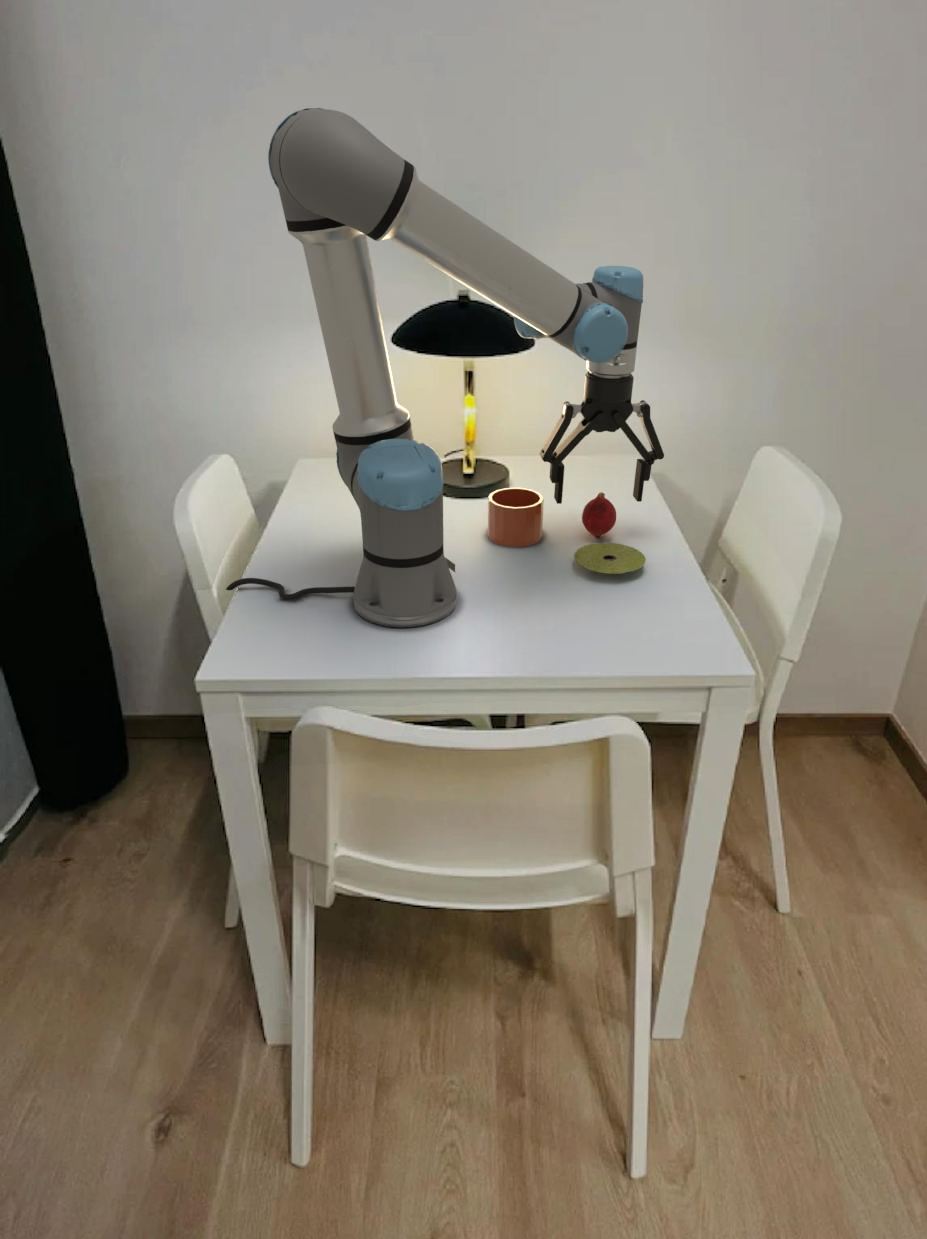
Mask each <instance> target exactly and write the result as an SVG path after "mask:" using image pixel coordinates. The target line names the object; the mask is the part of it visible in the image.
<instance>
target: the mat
mask: <svg viewBox="0 0 927 1239" xmlns="http://www.w3.org/2000/svg"><path fill="white" fill-rule="evenodd" d="M573 557H574V560H575V562H576V563H577V564H579V565H580V566H582V567H583V568H585V569H587V570H589V571H592V572H595V573H596V572H597V573H601V574H602V573H603V574H610V575H611V574H612V575H616V574H617V575H620V574H626V573H631V572H635V571H636V570H639V569H641V568H642V567H643V566H644V565H645V563H646V556H645V554H644V553H642V551H640V550H639V549H636V548H635V547H632V546H629V545H626V544H623V543H618V542H596V543H590V544H586V545H584V546H581V547H579V548H577V549H576V551H575V552H574V554H573Z"/></svg>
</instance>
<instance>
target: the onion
mask: <svg viewBox="0 0 927 1239" xmlns="http://www.w3.org/2000/svg"><path fill="white" fill-rule="evenodd" d="M605 495H606V494H605V493H604V492H603V491H601V492H598V495H597V496H596V497H595V498H593V499H591V500H589V501H588V502H587V503H586V504H585V505H584V507H583V510H582V514H581V522H582V525H583V527H584V528H585V530H586V531H587V532H588V533H589V534H591V535H593V536H594V537H596V538H600V537H602V536H603V535H605V534H607V533H609V531H611V530H612V529H613V528H614V527H615V525H616V522H617V510H616V508H615V506H614V505H613V503H612V502H611V501H610V500H609V499H608V498H606V497H605Z"/></svg>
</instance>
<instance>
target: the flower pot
mask: <svg viewBox="0 0 927 1239" xmlns="http://www.w3.org/2000/svg"><path fill="white" fill-rule="evenodd" d="M544 500H545V499H544V496H543V494H541V493H540V492H538V491H536V490H534V489H530V488H525V487H505V488H501V489H500V488H499V489H496V490H494V491H492V492H491V493H489V495H488V496H487V537H488V539H489V540H490V541H492V543H494V544H497V545H499V546H503V547H510V548H523V547H529V546H533V545H535V544H537V543H538V542H540V541H541V539H542V537H543V536H542V535H543V527H544V526H543V525H544V524H543V523H544V522H543V521H544V505H545V504H544V502H545V501H544Z"/></svg>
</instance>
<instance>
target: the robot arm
mask: <svg viewBox="0 0 927 1239" xmlns="http://www.w3.org/2000/svg"><path fill="white" fill-rule="evenodd" d="M267 162H268V169H269V173H270V176H271V179H272V181H273V183H274V185H275V186H276V188H277V189H278V193H279V199H280V202H281V206H282V211H283V215H284V220H285V224H286V228H287V232H288V234H289V235H291V236H292V237H293V238H295V239H296V240H297V241H299V242H300V243H301V245H302V247H303V253H304V257H305V262H306V266H307V270H308V275H309V280H310V283H311V288H312V289H311V290H312V293H313V297H314V302H315V308H316V311H317V316H318V320H319V321H318V322H319V325H320V329H321V334H322V338H323V344H324V347H325V352H326V356H327V361H328V366H329V370H330V375H331V380H332V384H333V389H334V394H335V398H336V402H337V407H338V412H339V414H338V416H337V417H336V419H334V420H335V421H333V423H332V427H331V428H332V432H333V435H334V440H335V445H336V453H335V455H336V468H337V470H338V473H339V476H340V478H341V480H342V482H343V483H344V485H346V487H347V489H348V491H349V493H350V495H351V496H352V498H353V500H354V501H355V503H356V505H357V507H358V509H359V513H360V521H361V523H360V524H361V537H362V553H363V554H362V555H363V556H362V562H361V564H360V569H359V572H358V574H357V579H356V582H355V585H353V586H320V587H319V586H317V587H316V586H315V587H308V588H303V589H300V590H298V591H296V592H292V593H286V590H285V587H284V586H283V585H282V584H281V583H278V582H275V581H272V580H268V579H263V578H260V577H259V578H257V577H245V578H240V579H236V580H235V581H233V582H231V583H230V584H229V585H228V586H227V587H226V588H225V590H226V591H233V590H234V589H236V588H238V587H240V586H243V585H247V584H248V585H260V586H265V587H269V588H272V589H275V590H278V595H279V597H280V598H281V600H286V601H294V600H296V599H299V598H301V597H304V596H306V595H311V594H312V595H313V594H345V593H346V594H347V593H349V594H351V593H353V606H354V609H355V612H356V613H357V614H358V615H359V616H360V617H361V618H363V619H364V620H366V621H368V622H371V623H373V624H376V625H380V626H385V627H391V628H392V627H393V628H413V627H421V626H426V625H429V624H434V623H436V622H438V621H440V620H443V619H444V618H446V617H447V616H449V615H450V614H451V613H452V612H453V611H454V610H455V608H456V606H457V602H458V598H457V597H458V596H457V595H458V594H457V593H458V592H457V587H456V584H455V581H454V578H453V575H452V573H451V571H452V572H454V573H456V564H455V563H454V562H452V561H451V560H449V559H448V558H447V557H445V552H444V551H445V550H444V485H445V478H444V476H445V475H444V471H443V464H442V460H441V458H440V455H439V454H438V452H437V451H436V450H435V449H434V448H432V447H431V446H430V445H427V444H426V443H424V442H421V443H419V442H418V441H417V440H415V438H414V437H415V436H414V433H413V427H412V421H411V416H410V412H409V410H408V409H406V408H405V407H403V405H400V404H399V403H398V401H397V395H396V390H395V384H394V379H393V374H392V369H391V364H390V358H389V352H388V348H387V347H388V346H387V342H386V336H385V331H384V325H383V320H382V314H381V309H380V303H379V297H378V292H377V287H376V281H375V276H374V271H373V265H372V259H371V253H370V249H369V244H368V238H370V239H372V240H373V241H375V242H381V241H383V240H390V241H392V243H395V244H396V245H398V246H400V247H401V248H402V249H405V250H406V251H407V252H410V253H411V254H413V255H414V256H416V257H417V258H419V259H421V260H422V261H424V262H425V263H427V264H429V265H431V266H432V267H434V268H435V269H437V270H439V271H440V272H442V273H444V274H445V275H447V276H449V278H452V279H453V280H455V281H457V282H458V283H460V284H462V285H463V286H465V287H467V288H468V289H469V290H471V291H473V292H475V293H476V294H478V295H480V296H481V297H483V298H484V299H486V300H487V301H489V302H491V303H492V304H494V305H496V306H497V307H499V308H501V309H502V310H504V311H506V312H507V313H509V314H511V315H512V316H513V321H514V327H515V330H516V332H517V334H518V335H519V336H520V337H521V338H523V339H535V340H540V339H550V340H551V341H553V342H555V343H556V344H558V345H559V346H562V347H564V348H565V349H567V350H569V351H570V352H572V353H573V354H575V355H576V356H578V357H579V358H580V359H582V360H584V361H586V363H585V368H586V370H587V372H586V373H585V375H584V389H583V399H582V401H581V404H575V403H571V402H570V401H567V400H566V401H564V402H563V404H562V407H561V408H562V409H561V413H560V416H559V418H558V420H557V422H556V423H555V425H554V427H553V429H552V430H551V432H550V434H549V436H548V438H547V439H546V440H545V443H544V445H543V447H541V449H540V452H539V456H540V458H541V460H542V461H543V462H544V463H550V464H549V480H550V482H551V484H554V493H553V498H554V500H555V502H556V504H560V505H561V504H562V503H563V492H564V479H565V464H564V463H563V461H564V460H565V459H566V458H567V457H568V455H569V454H571V453H572V452H573V450H574V449H575V448H576V447H577V446H578V445H579V444H580V443H581V441H582V440H583V439H585V438H586V436H589V435H590V434H591V433H592V431H593V432H595V433H603V432H609V433H616V431H618V430H621V431H622V433H623V434H624V435H625V437H626V438H627V439H628V440H629V442H630V443H631V444H632V446H633V448H635V450H636V451H637V453H638V454H639V455H640V457H641V458H637V459H636V464H635V465H636V466H635V473H634V480H633V481H634V482H633V491H632V496H633V498H634V500H635V501H636V502H642V501H643V493H644V485H645V484H644V483H645V482H649V481H650V479H651V472H652V465H654V464H655V462H656V461H658V460H659V461H660V460H663V459H664V458H665V453H664V451H663V448H662V445H661V443H660V439H659V437H658V434H657V432H656V429H655V427H654V424H653V421H652V419H651V405H649V403H648V402H647V401H646V400H644V399H642V400H640V401H639V402H638V403H637V402H636V403H632V397H633V389H634V388H633V387H634V375H633V374H632V373H633V372H635V368H636V360H637V359H636V358H637V348H638V339H639V338H638V337H639V331H640V323H641V322H640V321H641V316H642V314H641V313H642V307H643V306H642V305H643V303H644V274H643V273H642V271H641V270H640V269H638V268H635V267H632V266H625V265H624V266H623V265H605V266H599V267H597V268H595V269H594V272H593V276H592V278H591V279H592V280H591V281H588V282H583V283H576V282H575V283H574V282H573V281H571V280H570V279H569V278H567V277H565V276H564V275H562V274H561V273H560V272H558V271H556V270H555V269H553V268H552V267H550V266H549V265H548V264H546V263H545V262H544V261H542V260H540V259H538V258H537V257H536V256H534V255H532V254H531V253H529V252H528V251H526V250H525V249H523V248H522V247H520V245H517V244H516V243H514V242H513V241H511V240H510V239H509V238H507V237H506V236H504V235H502V234H501V233H499V232H498V231H496V230H495V229H494V228H492V227H490V226H489V225H487V224H486V223H484V222H483V221H481V220H480V219H478V218H477V217H475V216H474V215H472V214H471V213H469V212H468V211H466V210H465V209H464V208H462V207H460V206H459V205H457V204H456V203H455V202H453V201H451V200H450V199H448V198H447V197H445V196H444V195H442V194H440V192H438V191H436V190H435V189H434V188H432V187H430V186H429V185H427V184H425V183H424V182H422V181H421V180H420V179H419V176H418V172H417V171H418V170H417V168H416V166H415V165H413V164H412V163H410V162H409V161H408V160H406V159H405V158H403V157H402V156H400V155H399V154H398V153H396V152H395V151H394V150H393V149H391V148H390V147H388V146H387V145H386V144H385V143H383V142H382V141H381V140H380V139H379V138H377V136H375V135H374V134H373V133H372V132H371V131H369V129H368V128H366V126H364V125H363V124H361V123H360V122H359V121H358V120H357V119H355V118H354V117H352V116H351V115H348V114H347V113H345V112H342V111H338V110H335V109H326V108H322V107H306V108H303V109H300V110H295V111H294V112H292V113H291V114H289V115H288V116H286V117H284V119H283V120H282V121H281V122H280V123H279V125H277V127H276V128H275V130H274V132H273V134H272V137H271V139H270V142H269V148H268V155H267ZM367 237H368V238H367ZM633 413H634V414H635V416H637V417H638V418H639V420H640V423H641V425H642V428H643V431H644V433H645V436H646V438H647V441H648V443H649V446H650V448H651V450H650V451H648V450H647V448H646V447H645V445H644V444H643V443H642V442H641V440H640V439H639V437H638V436H637V435H636V434H635V432H634V431H633V429H632V428H631V427H630V425H629V424H628V423H627V420H628V419H629V418H630V417H631V415H632V414H633ZM578 414H581V416H582V417H583V418H581V420H580V421H579V422H578V424H577V426H576V427H575V428H574V429H573V431H572V432H571V433H570V434H569V435H568V436H566V438H565V439H564V440H563V442H561V440H562V439H563V437H564V435H565V433H566V431H567V430H568V428H569V426H570V424H571V423H572V419H575V418H576V417H577V415H578ZM559 444H560V445H559Z"/></svg>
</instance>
